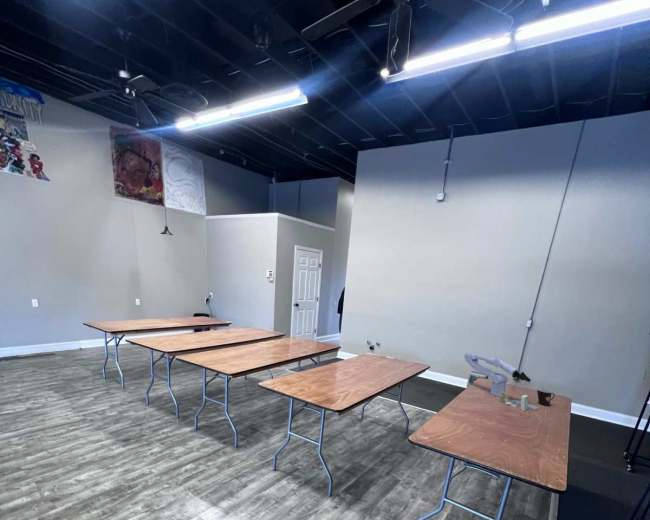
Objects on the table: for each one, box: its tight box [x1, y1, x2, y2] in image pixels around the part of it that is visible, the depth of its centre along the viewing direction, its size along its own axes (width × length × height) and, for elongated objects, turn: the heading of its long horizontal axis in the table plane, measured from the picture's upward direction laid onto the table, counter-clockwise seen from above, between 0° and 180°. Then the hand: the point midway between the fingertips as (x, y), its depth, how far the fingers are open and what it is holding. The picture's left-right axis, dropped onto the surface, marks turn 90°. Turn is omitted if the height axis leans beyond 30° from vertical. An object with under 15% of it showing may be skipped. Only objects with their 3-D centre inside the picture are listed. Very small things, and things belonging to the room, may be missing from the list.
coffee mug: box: [536, 388, 556, 407], centre depth 217 cm, size 12×9×10 cm
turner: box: [499, 392, 519, 408], centre depth 213 cm, size 10×6×7 cm, turn 39°
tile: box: [520, 394, 529, 412], centre depth 205 cm, size 2×7×9 cm, turn 129°
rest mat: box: [509, 398, 540, 411], centre depth 214 cm, size 16×8×1 cm, turn 39°
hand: (527, 380), depth 213 cm, fingers open, 7 cm apart
